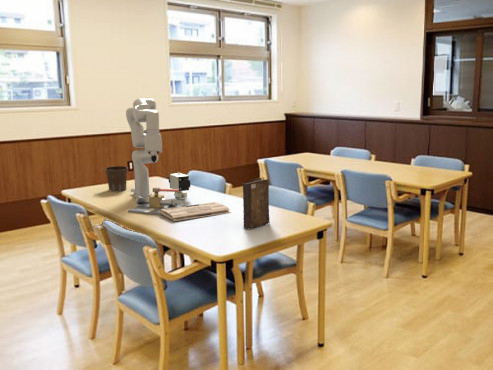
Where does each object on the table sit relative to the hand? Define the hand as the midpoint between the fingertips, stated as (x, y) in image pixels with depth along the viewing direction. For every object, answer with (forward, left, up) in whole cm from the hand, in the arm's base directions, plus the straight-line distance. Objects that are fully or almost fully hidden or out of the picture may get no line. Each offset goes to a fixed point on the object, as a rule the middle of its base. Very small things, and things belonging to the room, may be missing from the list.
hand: (153, 161), depth 294 cm
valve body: (+3, -3, -27) cm, 28 cm away
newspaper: (+30, -6, -28) cm, 41 cm away
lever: (+9, -2, -17) cm, 20 cm away
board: (+3, -3, -28) cm, 29 cm away
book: (+71, -19, -29) cm, 79 cm away
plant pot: (-52, +38, -29) cm, 71 cm away
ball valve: (+4, +27, -29) cm, 39 cm away
